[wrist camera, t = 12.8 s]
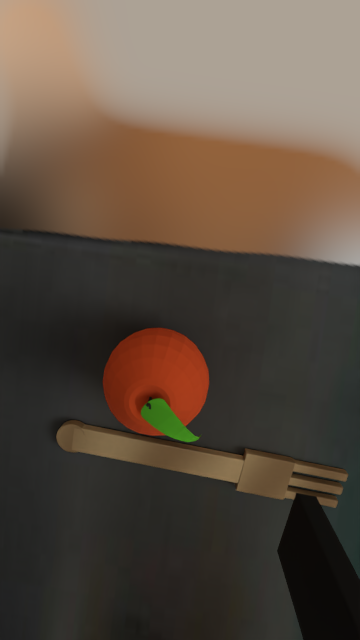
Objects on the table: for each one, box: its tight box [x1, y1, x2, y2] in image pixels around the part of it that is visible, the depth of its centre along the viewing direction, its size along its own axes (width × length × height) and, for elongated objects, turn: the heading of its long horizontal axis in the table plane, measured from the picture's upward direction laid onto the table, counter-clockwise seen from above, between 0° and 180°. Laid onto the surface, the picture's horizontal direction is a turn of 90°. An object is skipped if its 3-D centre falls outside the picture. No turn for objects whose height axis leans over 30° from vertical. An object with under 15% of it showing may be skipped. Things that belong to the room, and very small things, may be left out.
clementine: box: [103, 328, 209, 442], centre depth 20 cm, size 8×7×7 cm
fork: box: [56, 420, 348, 507], centre depth 25 cm, size 24×4×1 cm, turn 79°
